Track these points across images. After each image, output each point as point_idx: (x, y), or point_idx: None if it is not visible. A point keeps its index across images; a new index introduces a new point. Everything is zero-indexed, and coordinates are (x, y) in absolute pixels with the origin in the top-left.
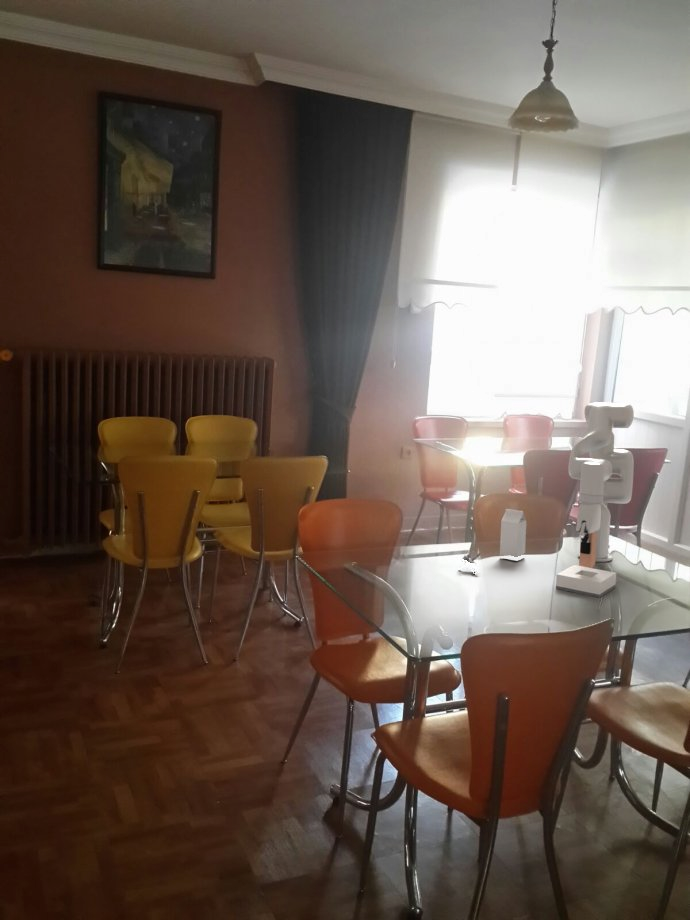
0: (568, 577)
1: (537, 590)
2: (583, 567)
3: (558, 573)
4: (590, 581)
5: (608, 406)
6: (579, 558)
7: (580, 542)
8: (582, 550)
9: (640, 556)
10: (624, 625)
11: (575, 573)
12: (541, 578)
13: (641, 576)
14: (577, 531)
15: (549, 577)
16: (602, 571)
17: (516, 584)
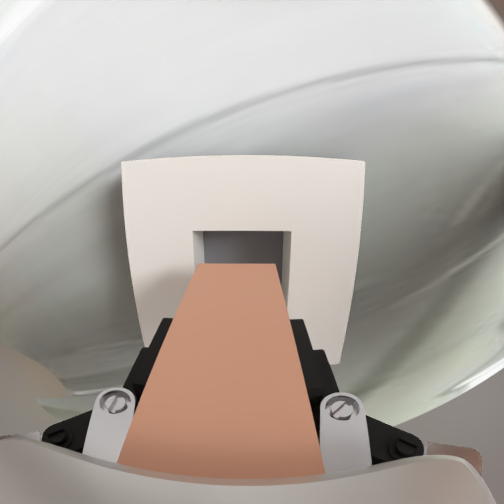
0: (126, 227)
1: (86, 123)
2: (346, 221)
3: (140, 162)
4: (141, 327)
5: None
6: (190, 282)
7: (156, 362)
8: (143, 350)
9: None
10: (53, 401)
11: (205, 230)
12: (251, 50)
13: (463, 333)
14: (6, 444)
15: (290, 69)
16: (327, 319)
17: (110, 33)
